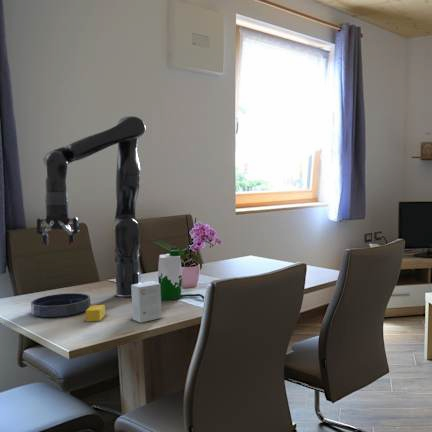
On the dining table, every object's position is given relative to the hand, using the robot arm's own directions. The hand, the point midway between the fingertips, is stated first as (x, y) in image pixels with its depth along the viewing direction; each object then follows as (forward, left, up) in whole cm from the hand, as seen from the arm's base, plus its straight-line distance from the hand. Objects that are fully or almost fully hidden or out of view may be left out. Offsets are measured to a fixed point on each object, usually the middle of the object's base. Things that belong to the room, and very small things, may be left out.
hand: (59, 244), depth 214 cm
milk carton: (-40, -4, -24) cm, 47 cm away
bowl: (-3, +10, -24) cm, 26 cm away
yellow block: (-18, +22, -24) cm, 37 cm away
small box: (-36, +26, -24) cm, 51 cm away
